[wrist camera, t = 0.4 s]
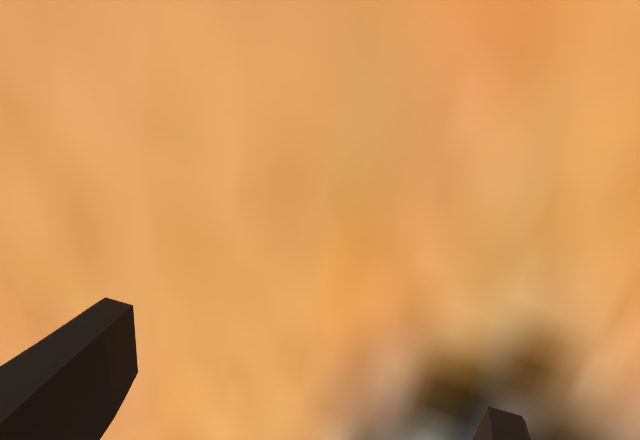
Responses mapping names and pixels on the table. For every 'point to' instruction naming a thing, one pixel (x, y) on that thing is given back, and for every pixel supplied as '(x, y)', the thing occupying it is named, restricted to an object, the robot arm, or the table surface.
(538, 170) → the table surface
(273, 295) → the table surface
